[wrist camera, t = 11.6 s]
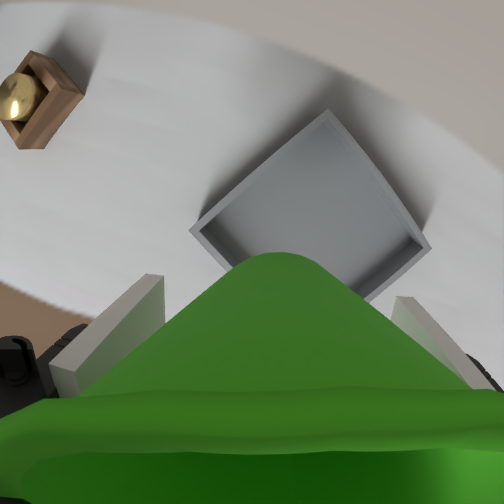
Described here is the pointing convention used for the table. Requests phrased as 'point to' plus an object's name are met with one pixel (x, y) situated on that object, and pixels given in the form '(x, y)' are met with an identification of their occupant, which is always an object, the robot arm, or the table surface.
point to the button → (20, 96)
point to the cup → (265, 409)
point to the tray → (318, 212)
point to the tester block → (44, 103)
